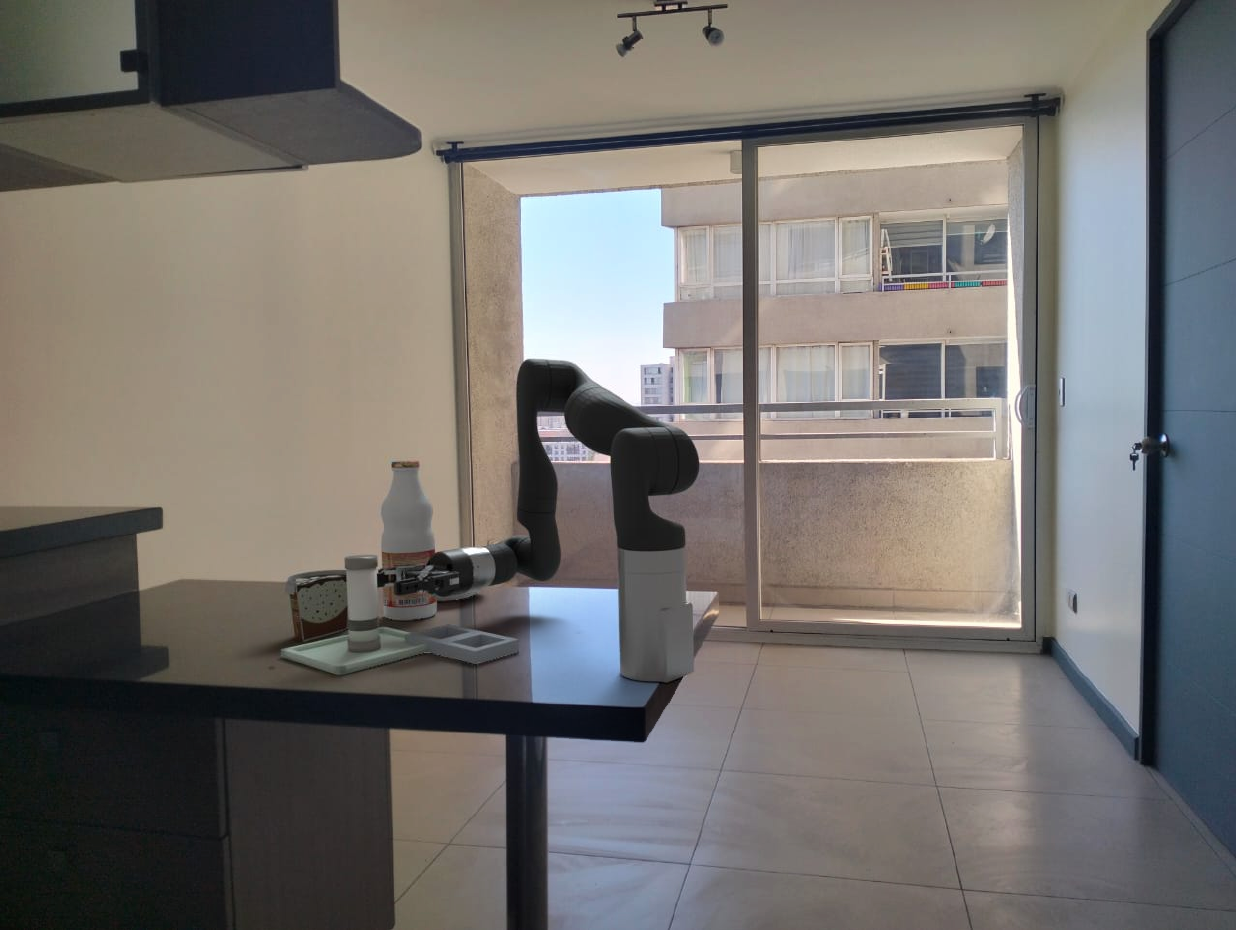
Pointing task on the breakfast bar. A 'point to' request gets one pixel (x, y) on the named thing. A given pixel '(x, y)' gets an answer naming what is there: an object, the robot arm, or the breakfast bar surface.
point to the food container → (318, 603)
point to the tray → (340, 661)
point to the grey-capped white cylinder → (362, 603)
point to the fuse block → (463, 643)
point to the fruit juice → (407, 539)
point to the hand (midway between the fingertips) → (378, 585)
